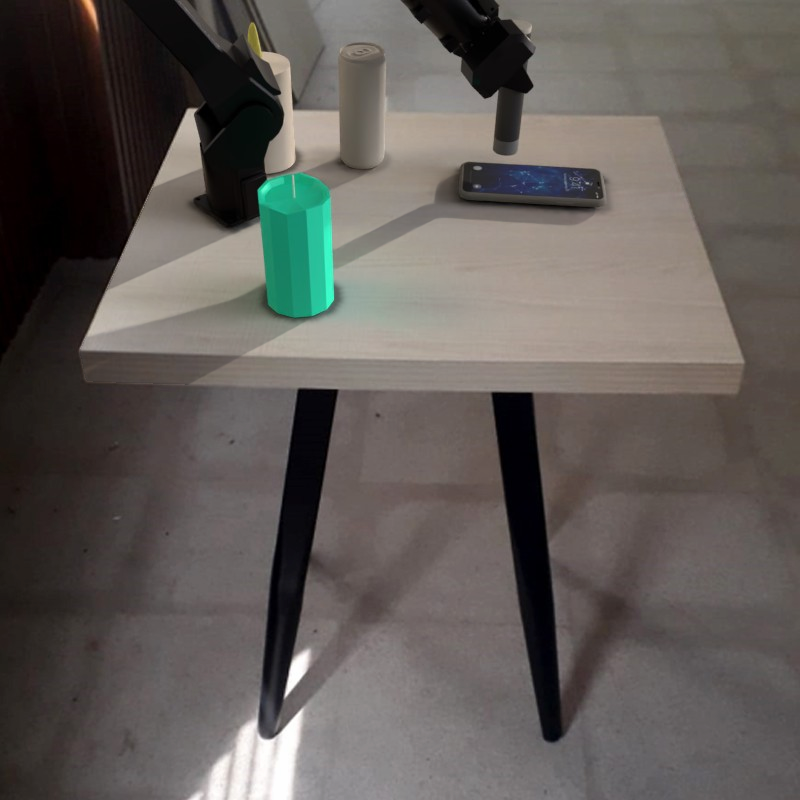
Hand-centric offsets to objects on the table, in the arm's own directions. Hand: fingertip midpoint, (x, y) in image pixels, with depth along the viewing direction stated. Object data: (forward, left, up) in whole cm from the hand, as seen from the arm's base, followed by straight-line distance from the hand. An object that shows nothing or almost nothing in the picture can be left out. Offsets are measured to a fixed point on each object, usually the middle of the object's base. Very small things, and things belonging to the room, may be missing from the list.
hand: (524, 83), depth 95 cm
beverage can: (-13, -10, -10) cm, 19 cm away
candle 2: (+3, -31, -10) cm, 33 cm away
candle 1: (-20, -18, -10) cm, 29 cm away
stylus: (-1, -1, -7) cm, 7 cm away
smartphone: (+3, -1, -10) cm, 11 cm away
